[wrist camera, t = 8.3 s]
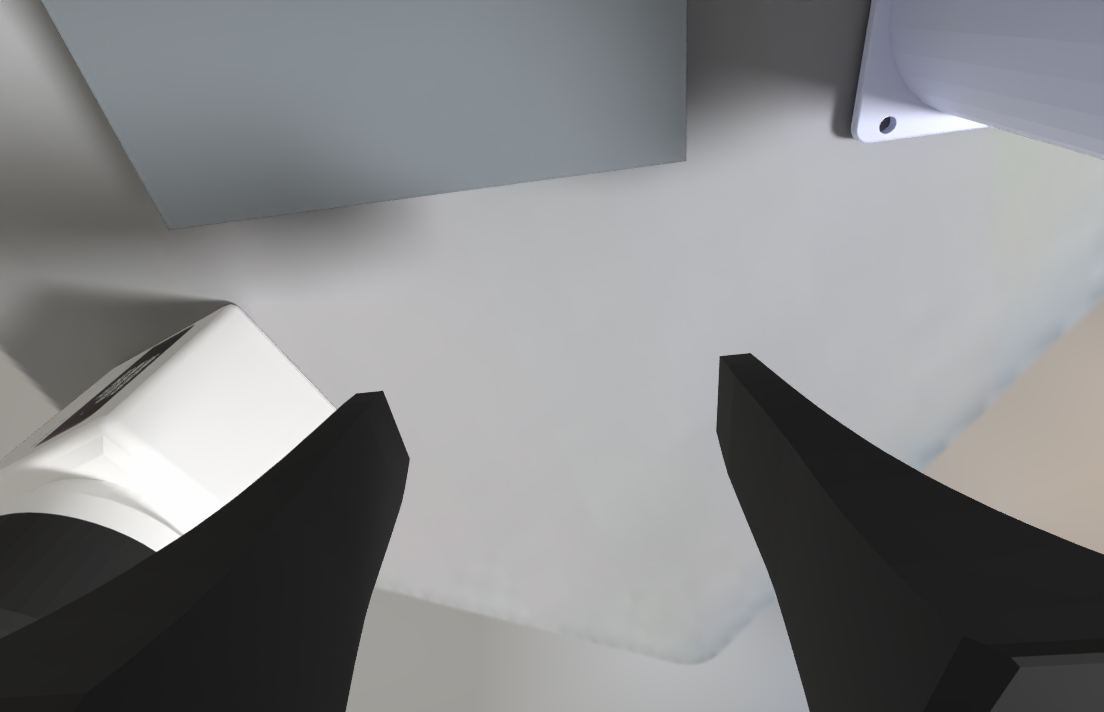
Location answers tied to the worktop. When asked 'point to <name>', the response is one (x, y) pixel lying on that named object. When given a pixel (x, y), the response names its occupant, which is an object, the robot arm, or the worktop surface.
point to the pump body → (376, 95)
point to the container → (145, 460)
